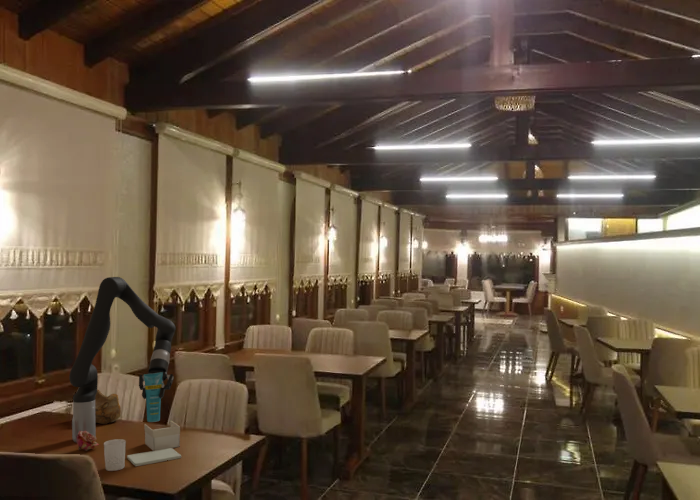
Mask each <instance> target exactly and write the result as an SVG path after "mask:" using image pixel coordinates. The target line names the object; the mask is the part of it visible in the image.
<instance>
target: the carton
mask: <svg viewBox="0 0 700 500" xmlns="http://www.w3.org/2000/svg"><path fill="white" fill-rule="evenodd" d="M180 434H181V426H180V425H178V424H177V423H176V422H174V421H172V420H169V426H168V427H163V428H155V429H152V428H151V427H150V426H149V425H147V424H146V423H144V444H145V446H147V447H148V448H149V449H150V450H152V451H156V450H161V449H167V448H172V449H174V448H179V447H180V444H181V443H180V442H181V441H180V439H181V438H180V436H181V435H180Z"/></svg>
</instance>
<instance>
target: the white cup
mask: <svg viewBox="0 0 700 500" xmlns="http://www.w3.org/2000/svg"><path fill="white" fill-rule="evenodd" d="M126 444H127V440H126V439H122V438H121V439H119V438H118V439H117V438H116V439H110V440H106V441H105V442H103V451H104V452H103V453H104V456H103V457H104V464H105V466H104V467H105V470H106V471H109V472H113V471H119V470H123V469H124V468H125V462H126V461H125V460H126Z"/></svg>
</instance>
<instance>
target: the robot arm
mask: <svg viewBox="0 0 700 500" xmlns="http://www.w3.org/2000/svg"><path fill="white" fill-rule="evenodd" d="M116 298H118V299H120V300H121V301H122V302H124V303H125V304H127V306H128V307H129V308H130V309H131V310H130V311H132V313H133V314H134V316H135V317H136V318H137V319H138V321H140V322H141V323H142V324H143V325H145V326H146V327H147V328H149V329H152V328H154V327H155V328H157V331H156V336H155V341H154V347H153V351H152V355H151V358H150V362H149V366H148V371H147V373H146V374H153V373H160V372H163V376H162V385H161V389H160V394H159V397H160V399H163V398H164V397H165V391H166V390H170V389H171V387H172V384H173V383H174V379H175V378H174V374H173V373H171V374H168V369H169V365H170V358H171V357H170V356H171V351H172V341H173V337H174V335H175V332H176V325H175V323H174V322H173V321H172V320H171V319H168V318H166V317H164V316H162V315H160V314H158V313H157V312H156V311H155V310H154V309H152V307H150V306H149V305H148V304H147V303H145V301H143V300H142V298H140V296H139V295H138V294H137V293H136V292H135V291H134V289H133V288H132V287H131V286H130V285H129V283H128V282H127V281H126V280H125V279H124V278H122V277H120V276H110V277H106V278H103V280H102V281H101V282H100V284H99V287H98V291H97V296H96V300H95V305H94V306H93V307H94V308H93V311H92V314H91V316H90V319H89V322H88V324H87V327H86V331H85V333H84V337H83V340H82V343H81V344H80V348H79V351H78V355H77V356H76V358H75V360H74V363H73V365H72V367H71V369H70V372H69V377H68V379H69V382H70V385H72V387H75V388H77V391H76V392H75V393H74V394H73V396H72V413H73V414H72V418H71V420H72V421H71V428H72V429H71V432H72V437H71V438H72V441H73V442H74V443H77V439H76V436H77V434H78V433H79V431H87V432H89V433H90V434H91V435H93V436H94V437H96V435H97V434H96V433H97V432H96V422H95V396H96V393H97V389H98V383H99V382H98V381H99V380H98V379H99V375H98V373H99V372H98V370H97V367H96V366H95V365H94V364H93V360H94V359H95V357H96V356H97V354H98V352H100V350H101V348H103V346H104V345H105V343H106V341H107V339H108V335H109V333H110V330H111V308H112V305H113V303H114V301H115V299H116ZM166 380H167V382H166V385H165V383H164V382H165V381H166ZM144 382H145V381H144V375H143V374H139V376H138V387H139V388H138V389H139V390H140V391H142V392H141V396H142V398H143V399H144V400H146V390H145V384H144ZM96 438H97V437H96Z"/></svg>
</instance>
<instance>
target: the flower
mask: <svg viewBox="0 0 700 500" xmlns="http://www.w3.org/2000/svg"><path fill="white" fill-rule="evenodd" d="M76 439H77V442H76V444H77V446H78V449H77V450H78V451H81V450H82V449H83V451H87V452H89V450H91V449H94V448H95V447H96V446H99V443H98V442H96V440H97V437H94V436H93V435H91V434H90V433H89V432H87V431H79V433H78V434H77V436H76Z"/></svg>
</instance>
